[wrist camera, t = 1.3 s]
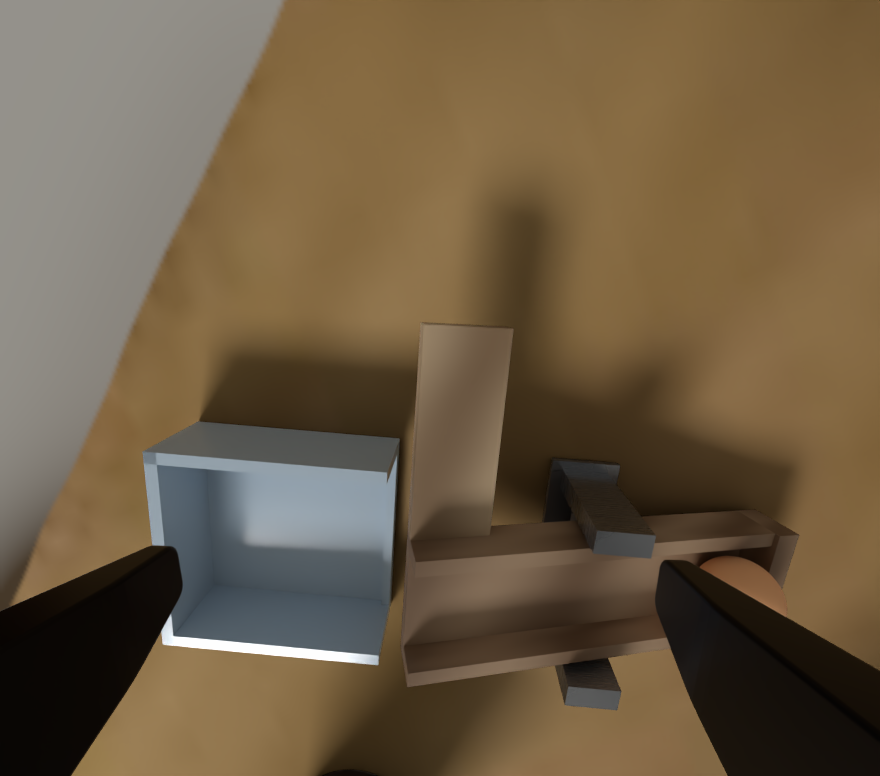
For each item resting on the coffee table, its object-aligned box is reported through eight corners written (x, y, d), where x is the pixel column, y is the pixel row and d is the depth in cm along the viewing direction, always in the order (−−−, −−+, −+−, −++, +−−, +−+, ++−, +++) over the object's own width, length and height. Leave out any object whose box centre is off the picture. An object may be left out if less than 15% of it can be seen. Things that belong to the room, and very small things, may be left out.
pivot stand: (617, 462, 19) (673, 526, 14) (588, 617, 22) (628, 719, 17) (551, 457, 20) (584, 518, 15) (528, 611, 22) (550, 711, 17)
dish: (399, 438, 20) (387, 472, 16) (390, 603, 22) (378, 665, 18) (198, 421, 20) (142, 451, 16) (209, 587, 22) (162, 644, 19)
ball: (748, 539, 19) (820, 590, 16) (730, 600, 20) (796, 660, 17) (683, 540, 18) (745, 594, 15) (668, 603, 19) (723, 666, 16)
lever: (781, 338, 18) (857, 350, 16) (712, 592, 22) (766, 638, 19) (415, 319, 15) (433, 329, 12) (397, 628, 18) (407, 692, 15)
